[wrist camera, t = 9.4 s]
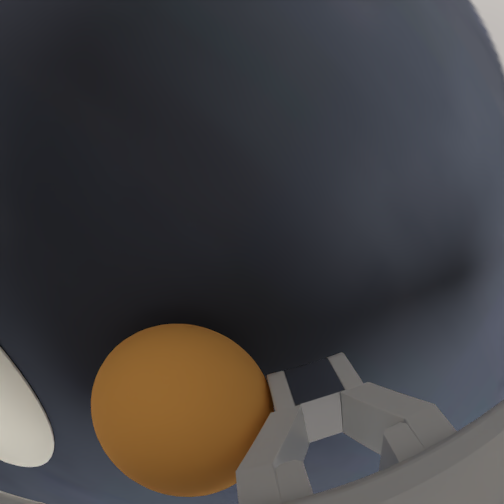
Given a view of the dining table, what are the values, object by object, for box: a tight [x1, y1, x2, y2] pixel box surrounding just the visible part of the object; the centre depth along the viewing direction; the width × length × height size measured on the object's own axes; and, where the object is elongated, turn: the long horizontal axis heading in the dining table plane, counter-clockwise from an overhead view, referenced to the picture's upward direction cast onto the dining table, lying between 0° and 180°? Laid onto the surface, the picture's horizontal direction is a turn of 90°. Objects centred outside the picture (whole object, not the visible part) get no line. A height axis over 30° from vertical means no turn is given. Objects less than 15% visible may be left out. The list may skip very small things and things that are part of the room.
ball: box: [91, 324, 274, 497], centre depth 8 cm, size 6×6×6 cm
